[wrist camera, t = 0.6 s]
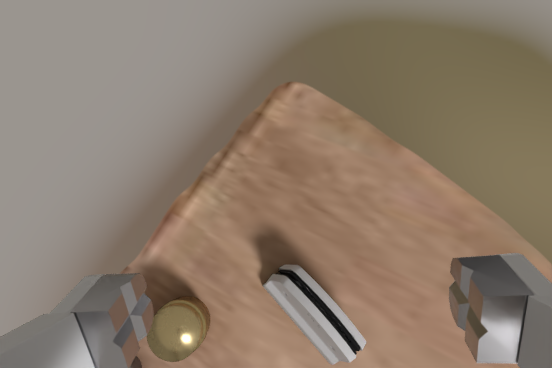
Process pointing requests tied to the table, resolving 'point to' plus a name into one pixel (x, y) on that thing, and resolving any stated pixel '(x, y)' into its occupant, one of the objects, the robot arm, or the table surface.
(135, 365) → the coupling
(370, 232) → the table surface
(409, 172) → the table surface
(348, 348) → the grey bevelled device
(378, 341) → the table surface
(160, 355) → the cylinder
